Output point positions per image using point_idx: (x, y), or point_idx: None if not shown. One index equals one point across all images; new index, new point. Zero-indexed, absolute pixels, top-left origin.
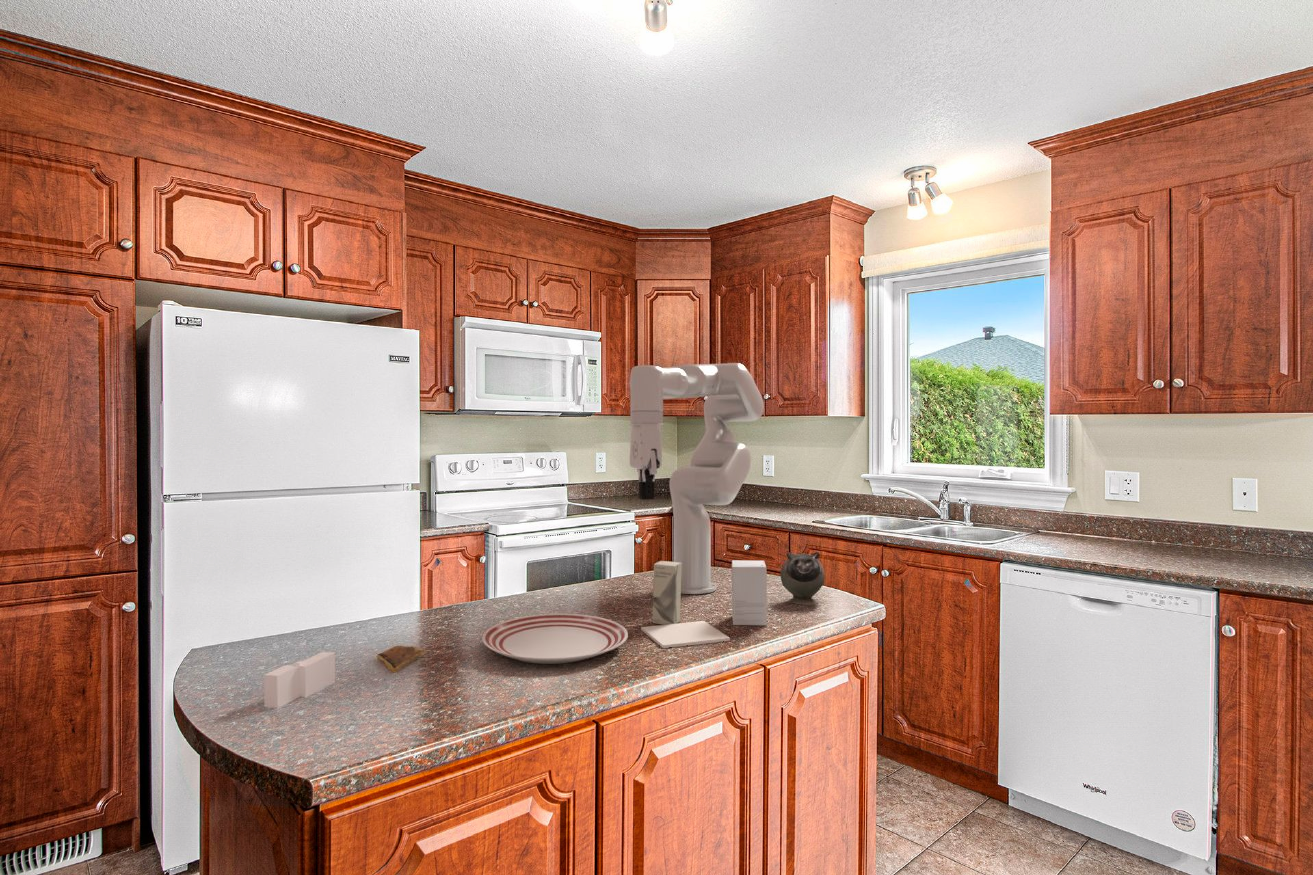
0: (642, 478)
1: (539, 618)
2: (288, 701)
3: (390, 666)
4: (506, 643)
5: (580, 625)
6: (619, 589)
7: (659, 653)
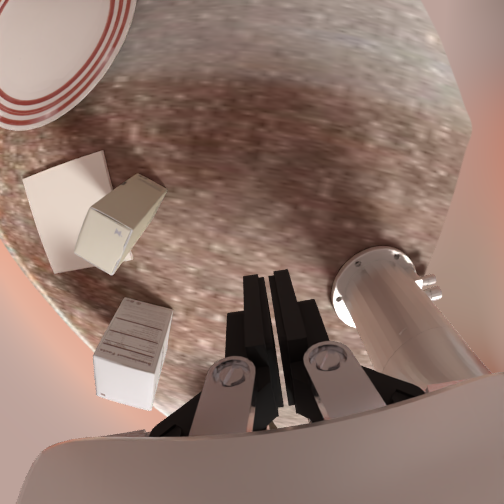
0: (248, 379)
1: None
2: None
3: None
4: None
5: (102, 45)
6: (415, 153)
7: (10, 172)
